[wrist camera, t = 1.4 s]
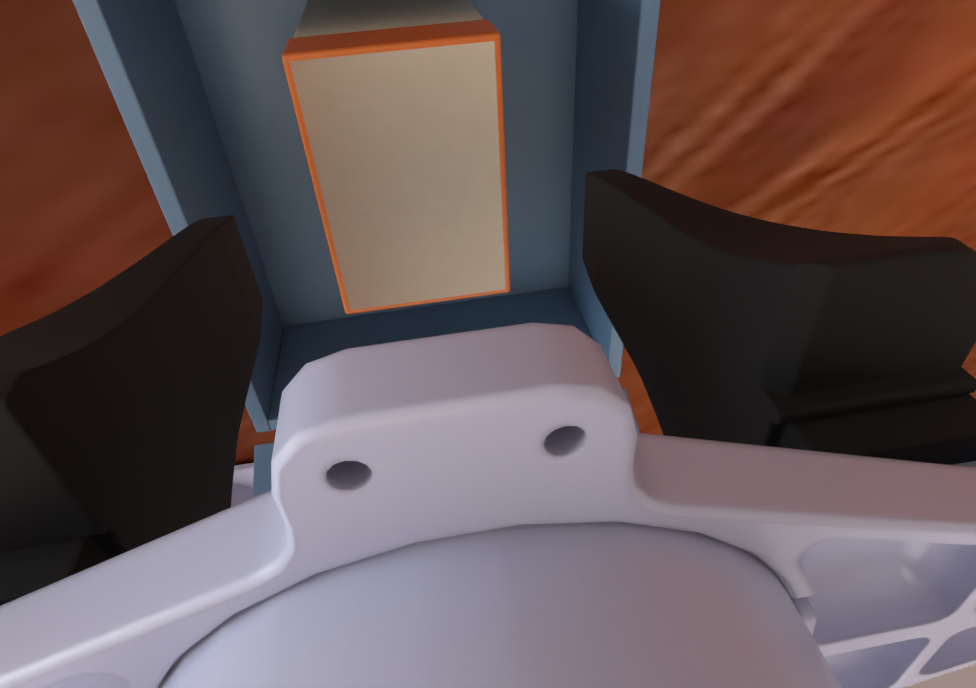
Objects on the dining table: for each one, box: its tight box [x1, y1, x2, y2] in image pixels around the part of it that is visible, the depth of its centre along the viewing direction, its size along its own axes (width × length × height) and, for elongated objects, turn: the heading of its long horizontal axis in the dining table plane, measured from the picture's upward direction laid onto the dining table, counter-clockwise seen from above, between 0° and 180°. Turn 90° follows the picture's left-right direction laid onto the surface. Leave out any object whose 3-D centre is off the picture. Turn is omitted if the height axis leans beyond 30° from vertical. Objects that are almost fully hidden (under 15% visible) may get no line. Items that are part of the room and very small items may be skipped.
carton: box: [73, 0, 660, 433], centre depth 20 cm, size 14×13×6 cm
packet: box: [282, 0, 510, 314], centre depth 17 cm, size 6×4×8 cm
